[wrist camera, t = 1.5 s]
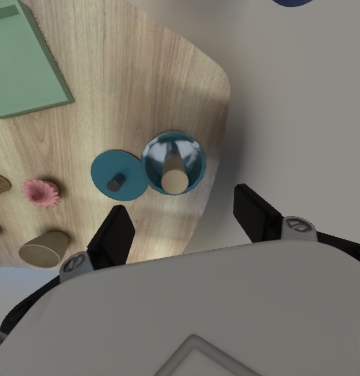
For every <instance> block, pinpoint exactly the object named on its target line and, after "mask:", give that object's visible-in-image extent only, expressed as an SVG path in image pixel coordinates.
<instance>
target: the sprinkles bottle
mask: <svg viewBox="0 0 360 376" xmlns="http://www.w3.org/2000/svg"><path fill="white" fill-rule="evenodd" d="M10 187H11V186H10V183H9V182H8V181H7V180H6V179H4V178H3V177H1V176H0V193H2V192H5V191H8V190H9V189H10Z"/></svg>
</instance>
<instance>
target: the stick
mask: <svg viewBox="0 0 360 376" xmlns="http://www.w3.org/2000/svg"><path fill="white" fill-rule="evenodd" d="M161 183H162V187H163V189H164V190H165V191H166V192H168V193H170V194H180V193H182V192H183V191H185V189H186V188H187V186H188V177H187V174H186V171H185V167H184V164H183V161H182V158H181V155H180V153H179V152H178V151H176V150H170V151H168V152H167V153H166V155H165V160H164V167H163V174H162V181H161Z"/></svg>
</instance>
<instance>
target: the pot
mask: <svg viewBox="0 0 360 376" xmlns="http://www.w3.org/2000/svg"><path fill="white" fill-rule="evenodd" d="M170 150H176V151H178V152H179V153H180V155H181V158H182V161H183V164H184V167H185V171H186V174H187V177H188V186H187V188H186V189H185V191H183V192H182V193H180V194H184V193H187V192H188V191H190V190H192V189H193V188H195V187H196V186H197V185H198V183H199V182H200V181H201V179H202V178H203V175H204V172H205V169H206V161H205V154H204V152H203V150H202V149H201V147H200V145H199V143H198V142H196V141H195V140H194V139H193V138H191V137H190V136H189V135H187V134H186V133H185V132H182V131H178V130H167V131H163V132H160V133H159V134H158V135H156V136H155V137H154V138H153V139H152V140H151V141H150V142H149V143H148V144H147V146H146V148H145V149H144V151H143V153H142V155H141V171H142V174H143V176H144V179H145V181H146V182H147V183H148V184H149V185H150V186H151V187H152V188H153V189H154V190H156V191H158V192H160V193H162V194H167V195H180V194H170V193H168V192H166V191H165V190H164V189H163V187H162V183H161V181H162V174H163V167H164V160H165V155H166V153H167V152H168V151H170Z"/></svg>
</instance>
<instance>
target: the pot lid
mask: <svg viewBox="0 0 360 376" xmlns="http://www.w3.org/2000/svg"><path fill="white" fill-rule="evenodd" d="M91 176H92V180H93V182H94V184H95V186H96V187H97V188H98V189H99V190H100V191H101V192H102V193H103V194H104V195H106V196H107V197H109V198H112V199H115V200H119V201H130V200H134V199H136V198H138V197H140V196H141V195H142V194H143V193H144V192H145V190H146V188H147V185H148V183H147V182H146V181H145V179H144V176H143V174H142V171H141V162H140V161H139V160H138V159H137V158H136V157H134V156H133V155H131V154H129V153H127V152H124V151H118V150H112V151H107V152H104V153H102V154H100V155H99V156H98V157H97V158H96V159H95V160H94V161H93V163H92V167H91Z"/></svg>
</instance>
